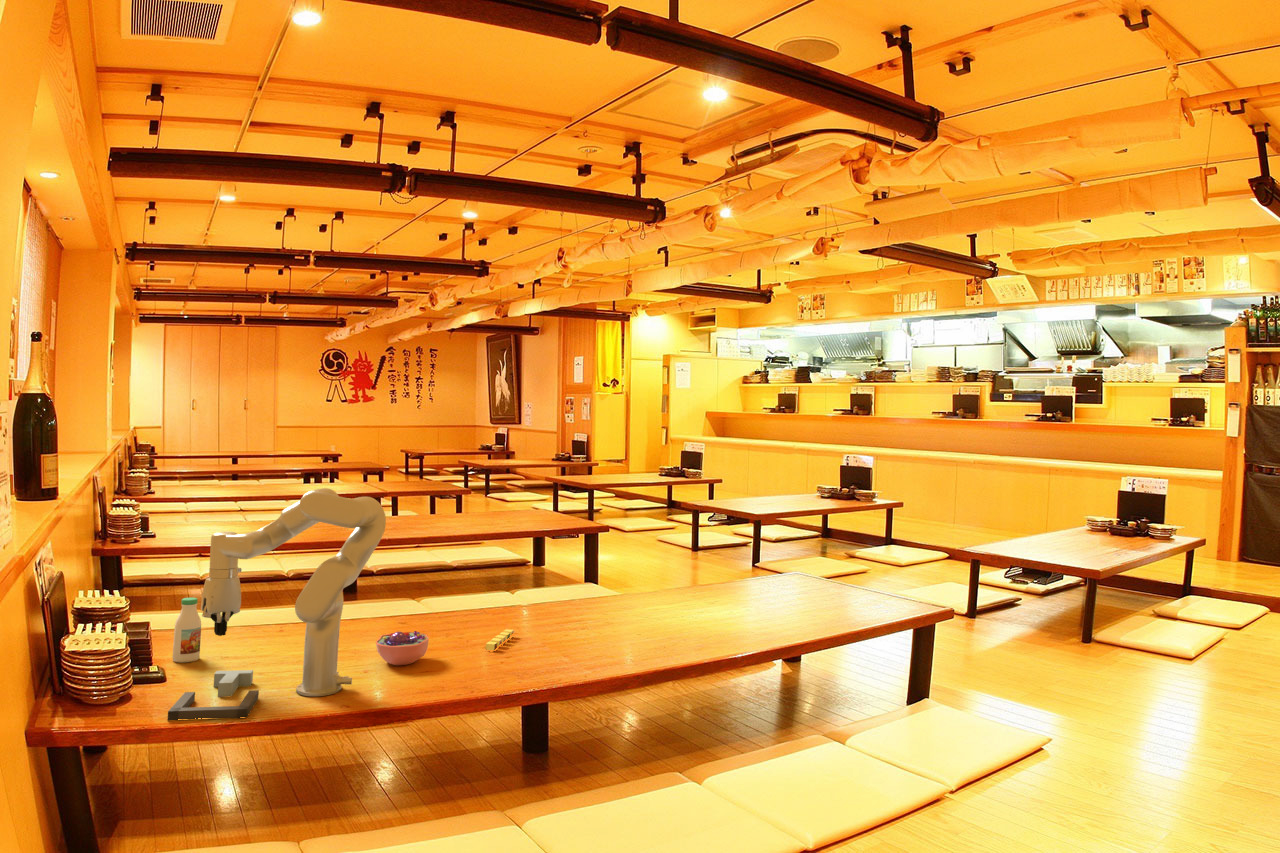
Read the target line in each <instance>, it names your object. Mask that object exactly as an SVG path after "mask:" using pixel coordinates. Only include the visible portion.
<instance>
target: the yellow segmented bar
mask: <svg viewBox="0 0 1280 853" xmlns="http://www.w3.org/2000/svg"><path fill="white" fill-rule="evenodd" d="M513 633H514V634H515V630H514V629H507V628H505V629H504V630H503V631H501V632H500V633H499V634H497V635H495V637H493V638H491V639H490V641H487V642H486V643H485V650H486V649H487V650H495V649H496V648H497V646H499V645H500V644H502V642H504V641H505V640H506V639H508V638H509V637H510V635H512V634H513Z"/></svg>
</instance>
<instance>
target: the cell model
mask: <svg viewBox="0 0 1280 853" xmlns="http://www.w3.org/2000/svg"><path fill="white" fill-rule="evenodd" d="M429 639H430V638H429V636H428V635H427V634H426V633H421V632H419V631H416V630H415V631H413V632H412V631H409V632H403V631H398V630H397V631H395V632H391V633H386V634H382V635H380V636H379V638H378V639H377V640H376V641H375V644H376V650H377V651H376V652H377V653H378V655H379V656H380V657H381V658H382V659H383V661H385V662H387V663H388V664H390V665H392V666H406V665H410V664H413V663H415V662H417V661H418V660H420V659H421V658H423V657H424V656H425V654H426V653H427V651H428V647H429Z"/></svg>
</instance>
